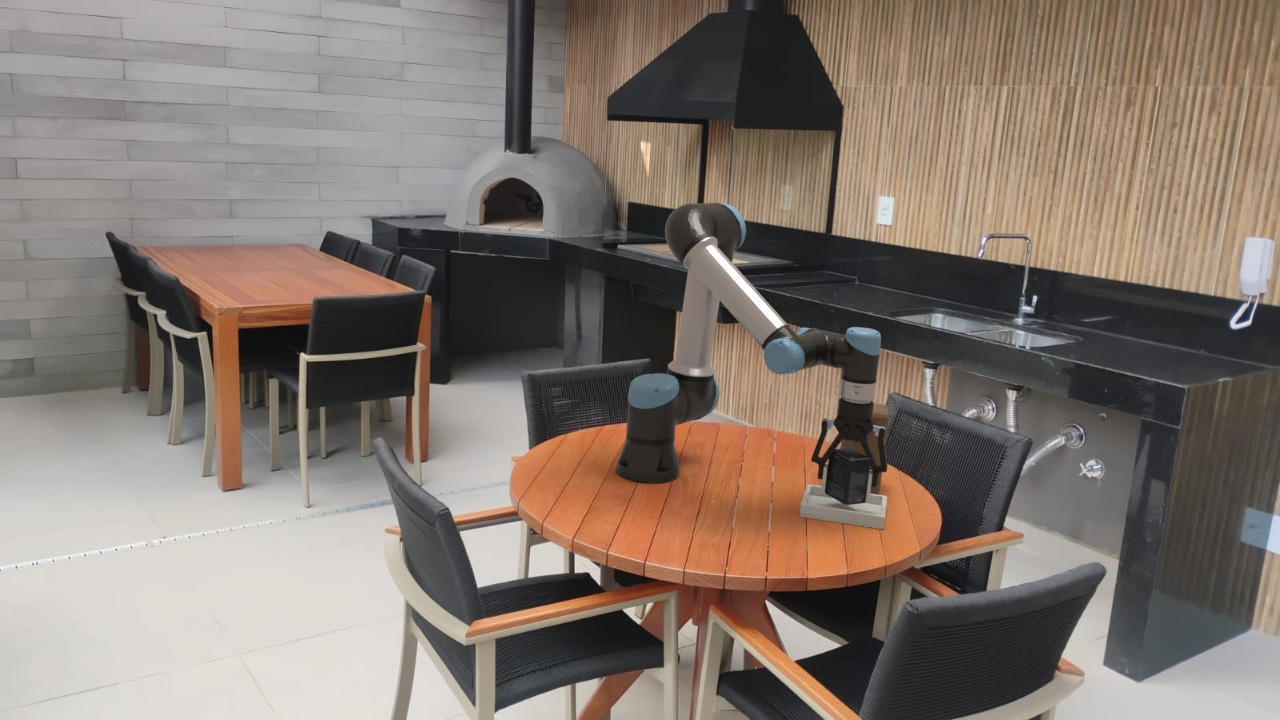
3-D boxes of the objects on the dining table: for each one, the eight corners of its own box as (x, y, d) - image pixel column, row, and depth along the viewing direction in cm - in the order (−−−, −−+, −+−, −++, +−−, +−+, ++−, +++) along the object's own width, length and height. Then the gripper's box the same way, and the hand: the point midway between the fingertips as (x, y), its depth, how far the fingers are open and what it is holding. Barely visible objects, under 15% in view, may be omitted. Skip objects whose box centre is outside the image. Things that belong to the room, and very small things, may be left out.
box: (866, 503, 217) (871, 457, 215) (845, 506, 215) (850, 460, 212) (844, 491, 224) (849, 446, 222) (823, 493, 222) (828, 448, 219)
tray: (799, 516, 216) (800, 504, 215) (806, 495, 229) (807, 484, 228) (883, 529, 211) (885, 517, 211) (885, 507, 225) (887, 496, 224)
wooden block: (879, 496, 232) (889, 414, 228) (836, 490, 234) (845, 409, 229) (878, 482, 242) (887, 403, 237) (836, 477, 243) (845, 399, 239)
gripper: (804, 396, 214) (794, 494, 219) (907, 409, 208) (895, 509, 213) (808, 388, 221) (798, 483, 226) (908, 401, 215) (895, 498, 220)
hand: (845, 496), depth 219 cm, fingers closed on box, 9 cm apart
